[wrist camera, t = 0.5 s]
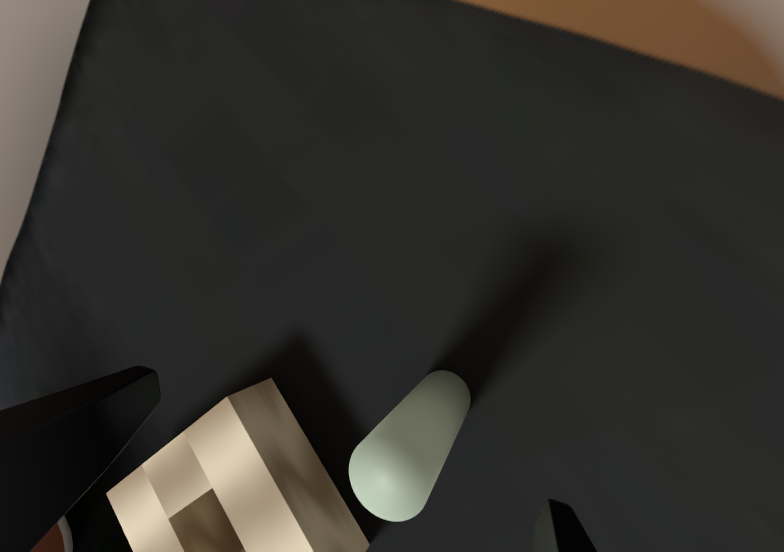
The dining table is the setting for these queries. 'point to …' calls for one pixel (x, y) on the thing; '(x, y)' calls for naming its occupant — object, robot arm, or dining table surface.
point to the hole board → (237, 486)
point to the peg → (409, 448)
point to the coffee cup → (56, 539)
